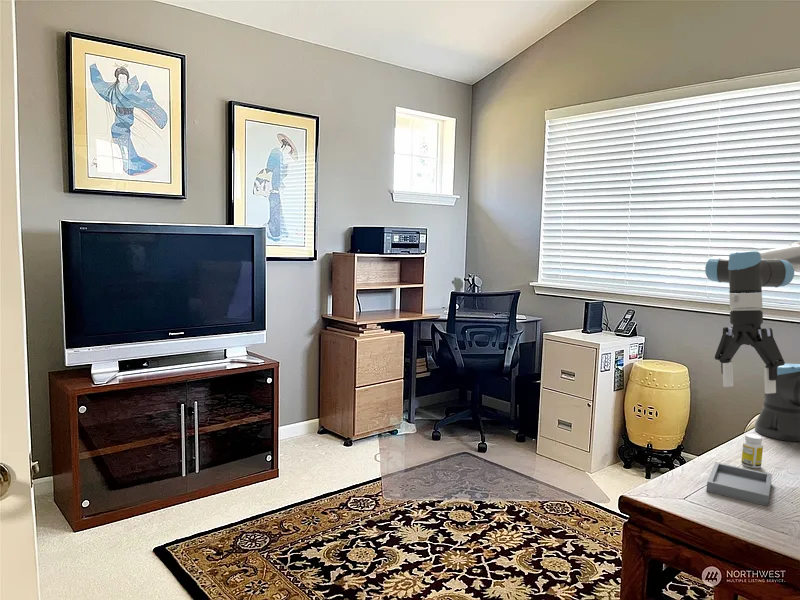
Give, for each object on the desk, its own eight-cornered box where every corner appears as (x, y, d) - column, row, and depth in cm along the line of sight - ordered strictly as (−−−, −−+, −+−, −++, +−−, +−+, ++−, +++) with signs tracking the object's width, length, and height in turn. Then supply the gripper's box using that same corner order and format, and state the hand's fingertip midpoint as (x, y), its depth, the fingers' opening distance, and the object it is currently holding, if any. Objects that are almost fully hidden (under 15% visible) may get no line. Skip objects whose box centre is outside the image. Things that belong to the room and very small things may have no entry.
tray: (714, 470, 160) (715, 462, 160) (770, 483, 153) (772, 474, 153) (706, 491, 147) (707, 481, 147) (767, 506, 140) (768, 495, 140)
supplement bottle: (758, 463, 167) (761, 434, 166) (763, 469, 162) (766, 439, 161) (738, 461, 168) (741, 432, 167) (743, 467, 164) (746, 437, 163)
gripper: (699, 310, 169) (701, 384, 168) (775, 309, 145) (777, 397, 144) (721, 309, 171) (723, 383, 170) (799, 309, 146) (802, 395, 146)
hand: (748, 389), depth 157 cm, fingers open, 13 cm apart
